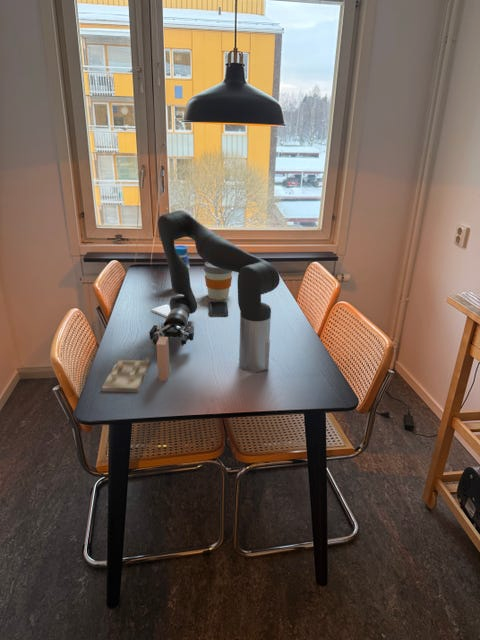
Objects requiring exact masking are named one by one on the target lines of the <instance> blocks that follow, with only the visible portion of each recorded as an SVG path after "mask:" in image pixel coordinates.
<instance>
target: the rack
mask: <svg viewBox="0 0 480 640" xmlns="http://www.w3.org/2000/svg"><path fill="white" fill-rule="evenodd" d="M149 366H150V360H140V359H139V360H137V359H136V360H135V359H117V360H116V362H115V364H114V365H113V367H112V368H111V371H110V372H109V373H108V376H107V378H106V379H105V381H104V382H103V384H102V387H101V391H102V392H114V393H117V392H119V393H122V392H124V393H139V389H140V387H141V385H142V382H143V380H144V378H145V375H146V373H147V371H148V368H149Z"/></svg>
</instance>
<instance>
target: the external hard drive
mask: <svg viewBox="0 0 480 640" xmlns="http://www.w3.org/2000/svg"><path fill="white" fill-rule="evenodd" d="M170 311H171V310H170V304H162V305H160V306H157V307H154V308H152V309H151V312H152V313H154V314H156V313H157V315H159V316H162V317H164V318H165V319H166V318H167V316H168V314H169V313H170Z"/></svg>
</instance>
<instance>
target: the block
mask: <svg viewBox="0 0 480 640" xmlns="http://www.w3.org/2000/svg"><path fill="white" fill-rule="evenodd" d="M158 337H159V336H158ZM155 346H156V361H157V373H158V374H157V376H158V377H157V378H158V381H166V382H167V381H168V379H169V376H170V374H171V370H170V369H171V367H170V366H171V365H170V346H169V337H159V339H158V342H157V344H156V345H155Z"/></svg>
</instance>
